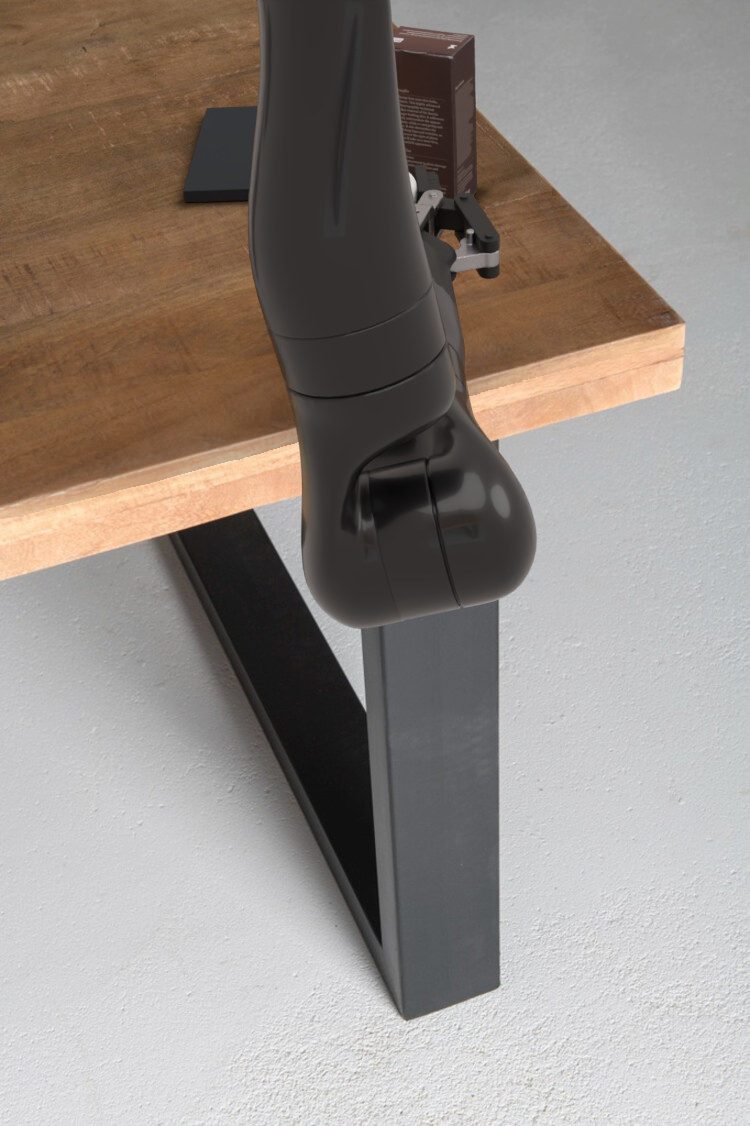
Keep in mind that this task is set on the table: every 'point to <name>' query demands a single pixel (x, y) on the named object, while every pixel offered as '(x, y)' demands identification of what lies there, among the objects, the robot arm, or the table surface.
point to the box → (438, 105)
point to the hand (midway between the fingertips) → (371, 182)
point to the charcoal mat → (222, 156)
